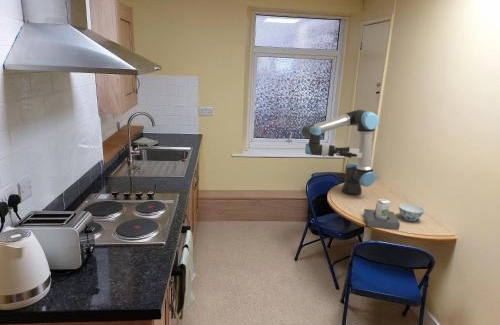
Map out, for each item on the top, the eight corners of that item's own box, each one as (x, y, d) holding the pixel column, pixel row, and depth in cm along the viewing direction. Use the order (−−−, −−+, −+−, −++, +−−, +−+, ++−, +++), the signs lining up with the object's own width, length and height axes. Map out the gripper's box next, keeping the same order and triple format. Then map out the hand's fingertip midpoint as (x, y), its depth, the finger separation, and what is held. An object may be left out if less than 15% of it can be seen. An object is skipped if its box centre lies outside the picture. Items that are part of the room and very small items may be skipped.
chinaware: (401, 212, 234) (402, 201, 232) (425, 218, 225) (427, 207, 223) (394, 218, 222) (395, 207, 220) (418, 226, 213) (420, 214, 211)
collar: (363, 214, 227) (364, 208, 226) (392, 217, 224) (393, 211, 223) (367, 226, 210) (368, 220, 209) (398, 229, 207) (399, 223, 206)
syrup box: (380, 219, 221) (383, 198, 217) (387, 223, 215) (390, 201, 212) (373, 220, 219) (376, 199, 215) (379, 224, 213) (383, 202, 210)
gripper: (326, 151, 247) (357, 154, 244) (328, 160, 224) (362, 163, 220) (327, 141, 245) (358, 143, 242) (329, 149, 222) (363, 151, 218)
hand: (360, 153), depth 231 cm, fingers open, 13 cm apart
